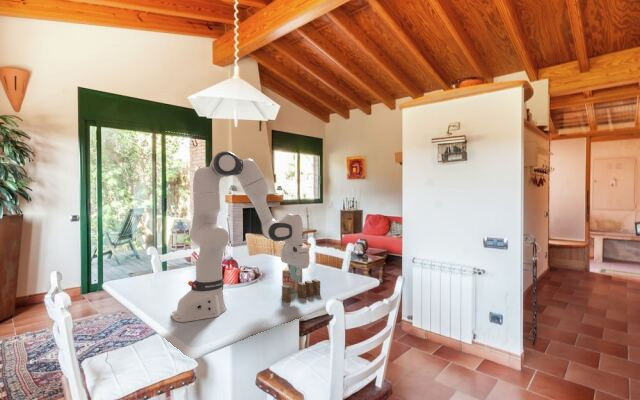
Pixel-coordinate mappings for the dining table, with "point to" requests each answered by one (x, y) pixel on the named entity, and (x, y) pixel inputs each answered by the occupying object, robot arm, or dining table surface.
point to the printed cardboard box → (290, 280)
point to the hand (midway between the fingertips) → (294, 274)
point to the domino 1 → (286, 294)
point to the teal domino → (293, 272)
